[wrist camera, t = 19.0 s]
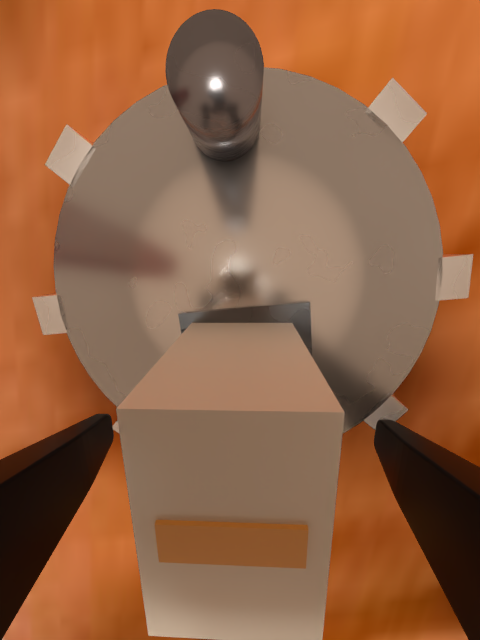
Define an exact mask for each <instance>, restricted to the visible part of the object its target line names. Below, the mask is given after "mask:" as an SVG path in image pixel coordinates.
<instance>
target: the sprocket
mask: <svg viewBox="0 0 480 640" xmlns="http://www.w3.org/2000/svg"><path fill="white" fill-rule="evenodd" d="M166 79H167V85H165V86H163V87H161V88H159V89H157V90H156V91H154V92H152V93H151V94H149V95H147V96H146V97H144V98H142V99H141V100H139V101H137V102H136V103H135V104H134V105H132V106H131V107H130V108H129V109H127V110H126V111H125V112H124V113H123V114H121V115H120V116H119V117H118V118H116V119H115V120H114V121H113V122H112V123H111V125H110V126H109V127H108V128H107V129H106V130H105V131H104V132H103V133H102V135H101V136H100V137H99V138H98V139H97V140H96V141H95V143H93V142H91V141H90V140H88V139H87V138H86V137H84V136H83V135H81V134H80V133H78V132H77V131H76V130H74V129H73V128H71V127H70V126H68V125H66V126H65V128H64V130H63V132H62V134H61V136H60V138H59V139H58V141H57V143H56V145H55V147H54V149H53V151H52V152H51V154H50V156H49V158H48V160H47V162H46V164H45V165H46V166H47V167H48V168H50V169H51V170H52V171H53V172H55V173H56V174H57V175H58V176H60V177H61V178H62V179H63V180H65V181H66V182H67V183H68V184H70V186H69V188H68V190H67V193H66V196H65V199H64V203H63V206H62V209H61V212H60V215H59V221H58V226H57V232H56V237H55V250H54V276H55V288H56V293H52V294H47V295H42V296H37V297H32V299H33V302H34V306H35V309H36V312H37V316H38V319H39V323H40V326H41V329H42V333H43V335H48V334H60V333H67V335H68V337H69V340H70V342H71V344H72V346H73V348H74V350H75V352H76V354H77V356H78V358H79V360H80V361H81V363H82V365H83V366H84V368H85V369H86V371H87V373H88V374H89V376H90V377H91V378H92V380H93V381H94V382H95V383H96V385H97V386H98V387H99V388H100V390H101V391H102V392H103V393H104V395H105V396H106V397H107V398H108V399H109V400H110V401H111V402H113V403H114V404H115V405H116V406H117V407H118V406H119V405H120V404H121V403H122V401H123V400H124V399H125V398H126V397H127V396H128V395H129V393H130V392H131V391H132V390H133V389H134V388H135V387H136V385H137V384H138V383H139V382H140V381H141V380H142V379H143V377H144V376H145V375H146V374H147V373H148V372H149V371H150V370H151V368H152V367H153V366H154V365H155V364H156V363H157V362H158V360H159V359H160V358H161V357H162V356H163V355H164V354H165V352H166V351H167V350H168V349H169V348H170V347H171V346H172V344H173V343H174V342H175V341H176V340H177V339H178V338H179V336H180V335H181V334H182V333H183V332H184V331H185V330H186V329H187V327H188V326H189V325H190V324H191V323H293V325H294V327H295V329H296V330H297V332H298V334H299V335H300V337H301V339H302V340H303V342H304V344H305V346H306V347H307V349H308V351H309V352H310V354H311V356H312V358H313V359H314V361H315V363H316V364H317V366H318V368H319V370H320V371H321V373H322V375H323V376H324V378H325V380H326V381H327V383H328V385H329V387H330V388H331V390H332V392H333V393H334V395H335V397H336V399H337V400H338V402H339V404H340V405H341V407H342V409H343V410H344V412H345V414H344V424H343V433H345V432H346V431H348V430H350V429H351V428H353V427H354V426H356V425H358V424H359V423H361V422H362V421H365V422H366V423H367V424H368V425H369V426H371V427H372V428H373V429H374V430H376V424H377V421H378V420H380V419H387V420H393V421H396V420H398V419H399V418H400V417H401V416H402V415H403V414H404V413H406V412H407V411H408V409H407V408H406V407H405V406H404V405H403V404H402V403H401V402H400V401H399V400H398V399H397V398H396V397H395V396H394V395H393V393H394V392H395V391H396V389H397V388H398V387H399V386H400V384H401V383H402V382H403V380H404V379H405V378H406V376H407V375H408V374H409V372H410V371H411V369H412V367H413V366H414V364H415V362H416V361H417V359H418V357H419V356H420V354H421V352H422V350H423V348H424V345H425V343H426V341H427V338H428V336H429V334H430V332H431V329H432V326H433V322H434V319H435V315H436V312H437V308H438V305H439V300H450V299H461V298H468V297H469V288H470V279H471V270H472V261H473V254H443V249H442V241H441V232H440V225H439V221H438V217H437V213H436V210H435V206H434V202H433V198H432V196H431V194H430V191H429V189H428V187H427V184H426V182H425V180H424V177H423V175H422V173H421V171H420V169H419V167H418V166H417V164H416V163H415V161H414V159H413V158H412V156H411V154H410V153H409V151H408V150H407V148H406V146H405V145H404V144H403V143H402V142H403V141H404V140H405V139H406V138H407V137H408V135H409V134H410V133H411V132H412V131H413V130H414V128H415V127H416V126H417V125H418V124H419V123H420V121H421V120H422V119H423V118H424V117H425V116H426V114H427V113H426V112H425V111H424V110H423V109H422V108H421V107H420V106H419V105H418V104H417V103H416V102H415V101H414V99H413V98H412V97H411V96H410V95H409V94H408V93H407V92H406V91H405V90H404V89H403V88H402V87H401V86H400V85H399V84H398V83H397V82H396V81H395V80H394V79H393V78H392V79H391V80H390V81H389V83H388V84H387V85H386V86H385V88H384V89H383V90H382V91H381V93H380V94H379V95H378V96H377V97H376V99H375V100H374V101H373V102H372V104H371V105H370V106H369V107H368V108H367V107H366V106H365V105H364V104H362V103H361V102H359V101H358V100H356V99H354V98H353V97H351V96H350V95H348V94H346V93H345V92H343V91H342V90H340V89H338V88H336V87H334V86H332V85H329V84H327V83H325V82H322V81H320V80H318V79H315V78H313V77H310V76H307V75H303V74H299V73H295V72H291V71H287V70H283V69H275V68H264V63H263V55H262V51H261V48H260V45H259V42H258V40H257V38H256V36H255V34H254V33H253V31H252V30H251V28H250V27H249V26H248V25H247V24H246V22H244V21H243V20H242V19H241V18H239V17H238V16H236V15H235V14H233V13H230V12H228V11H224V10H217V9H213V10H206V11H202V12H199V13H197V14H195V15H193V16H192V17H190V18H189V19H188V20H186V21H185V22H184V23H183V24H182V25H181V26H180V28H179V29H178V30H177V32H176V33H175V35H174V37H173V39H172V41H171V43H170V46H169V49H168V53H167V59H166ZM112 427H113V430H115V431H116V432H118V433H119V426H118V420H117V421H116V422H115V424H114V425H113V426H112ZM119 434H120V433H119Z"/></svg>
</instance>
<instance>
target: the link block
mask: <svg viewBox="0 0 480 640" xmlns="http://www.w3.org/2000/svg"><path fill="white" fill-rule="evenodd" d="M116 412H117V419H118V426H119V433H120V440H121V446H122V453H123V460H124V467H125V474H126V481H127V488H128V495H129V502H130V509H131V516H132V523H133V530H134V537H135V544H136V551H137V558H138V565H139V572H140V579H141V586H142V593H143V600H144V607H145V614H146V621H147V628H148V635H149V636H163V637H180V638H198V639H216V640H322V636H323V626H324V616H325V606H326V596H327V586H328V576H329V565H330V555H331V545H332V535H333V525H334V515H335V505H336V495H337V484H338V474H339V464H340V454H341V444H342V434H343V424H344V414H345V412H344V410H343V409H342V407H341V405H340V404H339V402H338V400H337V399H336V397H335V395H334V393H333V392H332V390H331V388H330V387H329V385H328V383H327V381H326V380H325V378H324V376H323V375H322V373H321V371H320V370H319V368H318V366H317V364H316V363H315V361H314V359H313V358H312V356H311V354H310V352H309V351H308V349H307V347H306V346H305V344H304V342H303V340H302V339H301V337H300V335H299V334H298V332H297V330H296V329H295V327H294V325H293V323H191V324H190V325H189V326H188V327H187V329H186V330H185V331H184V332H183V333H182V334H181V335H180V336H179V338H178V339H177V340H176V341H175V342H174V343H173V344H172V346H171V347H170V348H169V349H168V350H167V351H166V352H165V354H164V355H163V356H162V357H161V358H160V359H159V360H158V362H157V363H156V364H155V365H154V366H153V367H152V368H151V370H150V371H149V372H148V373H147V374H146V375H145V376H144V377H143V379H142V380H141V381H140V382H139V383H138V384H137V385H136V387H135V388H134V389H133V390H132V391H131V392H130V393H129V395H128V396H127V397H126V398H125V399H124V400H123V401H122V403H121V404H120V405H119V406H118V407H117V408H116Z"/></svg>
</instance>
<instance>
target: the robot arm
mask: <svg viewBox="0 0 480 640" xmlns="http://www.w3.org/2000/svg"><path fill="white" fill-rule="evenodd" d="M113 437H114V434H113V427H112V420H111V416H110V415H109V414H96V415H93V416H91V417H89V418H87V419H85V420H83V421H81V422H79V423H77V424H75V425H72V426H70V427H68V428H66V429H64V430H62V431H60V432H58V433H56V434H54V435H51V436H49V437H47V438H45V439H43V440H41V441H39V442H37V443H35V444H32V445H30V446H28V447H26V448H24V449H22V450H20V451H18V452H16V453H14V454H11V455H9V456H7V457H5V458H3V459H1V460H0V640H2V638H3V637H4V635H5V633H6V631H7V630H8V628H9V626H10V625H11V623H12V621H13V619H14V618H15V616H16V614H17V613H18V611H19V609H20V608H21V606H22V604H23V602H24V601H25V599H26V597H27V596H28V594H29V592H30V590H31V589H32V587H33V585H34V584H35V582H36V580H37V579H38V577H39V575H40V573H41V572H42V570H43V568H44V567H45V565H46V563H47V561H48V560H49V558H50V556H51V555H52V553H53V551H54V550H55V548H56V546H57V544H58V543H59V541H60V539H61V538H62V536H63V534H64V532H65V531H66V529H67V527H68V526H69V524H70V522H71V521H72V519H73V517H74V515H75V514H76V512H77V510H78V509H79V507H80V505H81V503H82V502H83V500H84V498H85V497H86V495H87V493H88V491H89V490H90V488H91V486H92V484H93V482H94V480H95V478H96V476H97V474H98V472H99V470H100V467H101V465H102V463H103V461H104V459H105V457H106V455H107V452H108V450H109V448H110V446H111V444H112V442H113ZM374 446H375V449H376V452H377V454H378V457H379V459H380V462H381V464H382V467H383V469H384V472H385V474H386V477H387V479H388V482H389V484H390V487H391V489H392V491H393V494H394V496H395V498H396V500H397V502H398V504H399V506H400V508H401V510H402V512H403V514H404V516H405V518H406V520H407V522H408V523H409V525H410V527H411V529H412V531H413V533H414V535H415V537H416V539H417V541H418V543H419V545H420V547H421V549H422V550H423V552H424V554H425V556H426V558H427V560H428V562H429V564H430V566H431V568H432V570H433V572H434V574H435V576H436V578H437V579H438V581H439V583H440V585H441V587H442V589H443V591H444V593H445V595H446V597H447V599H448V601H449V603H450V605H451V606H452V608H453V610H454V612H455V614H456V616H457V618H458V620H459V622H460V624H461V626H462V628H463V630H464V632H465V633H466V635H467V637H468V639H469V640H480V467H478V466H476V465H474V464H473V463H471V462H469V461H467V460H465V459H463V458H461V457H460V456H458V455H456V454H454V453H452V452H450V451H448V450H447V449H445V448H443V447H441V446H439V445H437V444H436V443H434V442H432V441H430V440H428V439H426V438H424V437H423V436H421V435H419V434H417V433H415V432H413V431H412V430H410V429H408V428H406V427H404V426H402V425H400V424H399V423H397V422H395V421H393V420H387V419H380V420H378V421H377V424H376V431H375V438H374Z"/></svg>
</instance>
